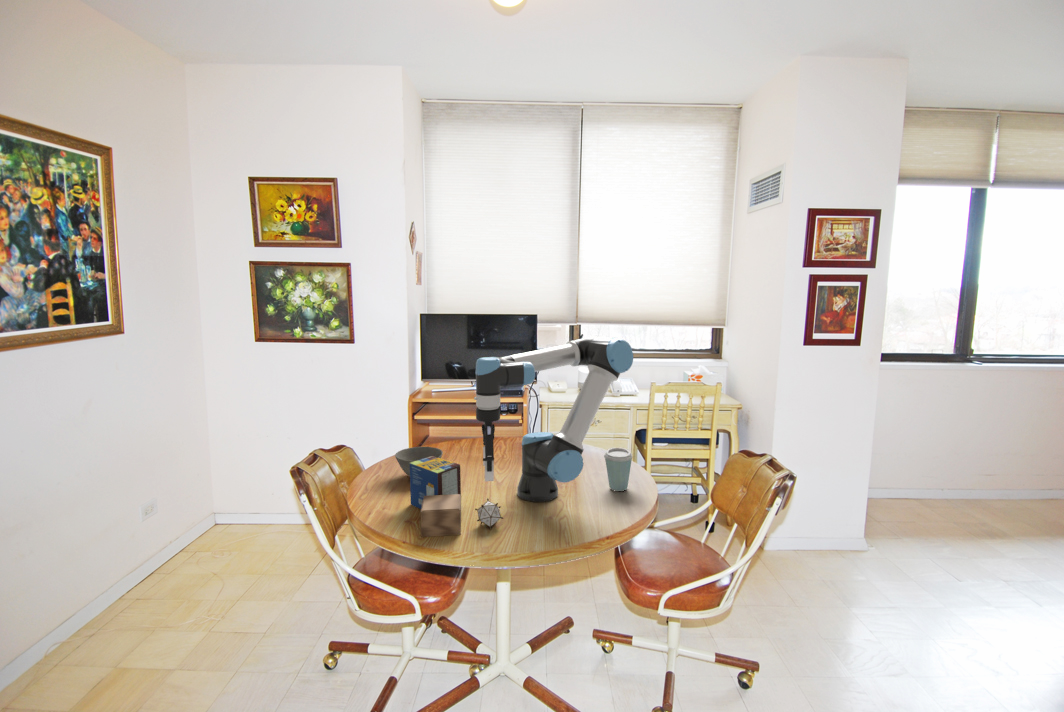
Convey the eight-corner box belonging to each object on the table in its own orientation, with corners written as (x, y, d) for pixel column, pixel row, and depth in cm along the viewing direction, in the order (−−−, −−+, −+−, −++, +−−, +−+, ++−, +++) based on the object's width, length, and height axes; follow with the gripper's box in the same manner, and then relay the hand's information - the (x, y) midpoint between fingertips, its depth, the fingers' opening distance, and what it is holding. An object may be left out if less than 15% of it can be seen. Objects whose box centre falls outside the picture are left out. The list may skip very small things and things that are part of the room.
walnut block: (461, 517, 165) (460, 493, 164) (460, 534, 153) (460, 509, 152) (424, 519, 164) (423, 495, 163) (421, 536, 152) (420, 511, 151)
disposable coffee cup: (633, 495, 184) (634, 455, 182) (604, 494, 184) (605, 455, 183) (629, 484, 194) (630, 447, 193) (602, 483, 195) (603, 446, 193)
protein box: (433, 495, 183) (432, 455, 181) (461, 507, 173) (461, 464, 171) (409, 505, 175) (408, 462, 173) (438, 517, 165) (437, 472, 163)
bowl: (417, 489, 188) (416, 464, 187) (386, 478, 200) (385, 454, 198) (453, 475, 203) (452, 451, 202) (422, 465, 214) (422, 443, 213)
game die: (486, 534, 161) (483, 503, 166) (509, 528, 159) (505, 497, 164) (471, 531, 154) (469, 498, 159) (495, 525, 152) (492, 492, 156)
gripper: (475, 399, 166) (475, 460, 169) (476, 417, 142) (477, 488, 144) (497, 398, 167) (497, 459, 170) (502, 416, 143) (502, 487, 145)
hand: (488, 472), depth 157 cm, fingers open, 13 cm apart
